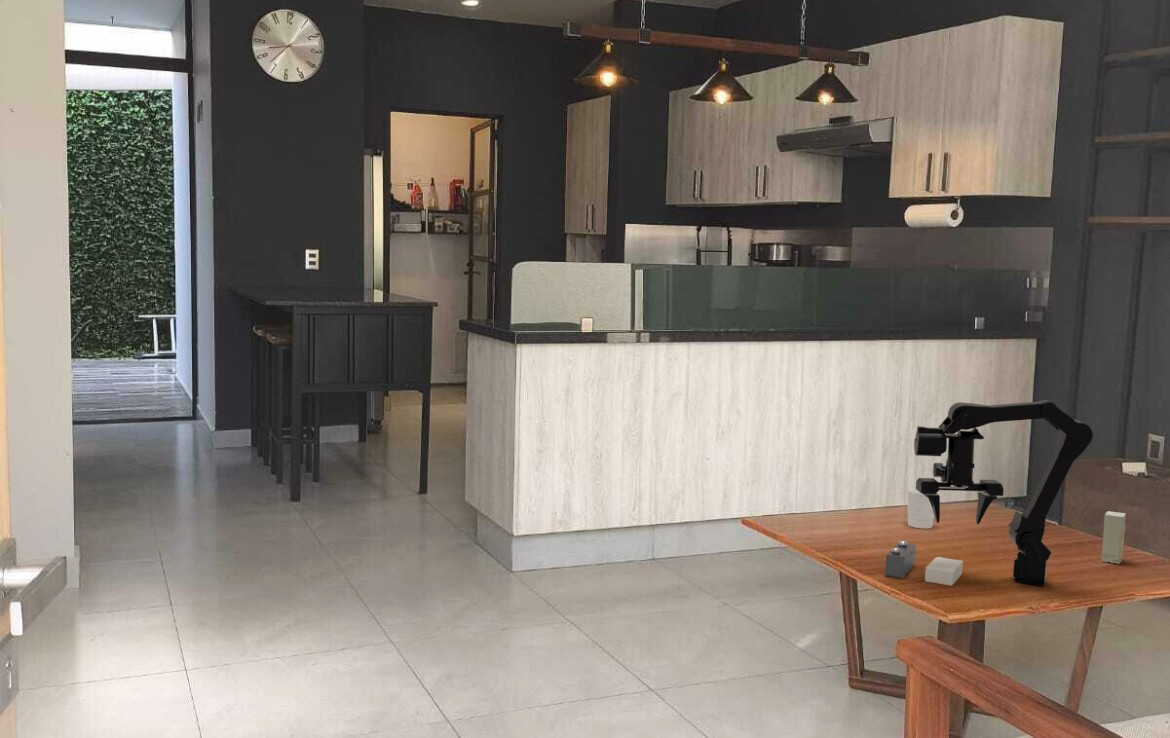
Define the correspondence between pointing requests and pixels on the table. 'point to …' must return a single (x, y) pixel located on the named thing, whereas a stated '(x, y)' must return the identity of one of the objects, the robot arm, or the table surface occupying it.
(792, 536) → the table surface
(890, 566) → the stop bar
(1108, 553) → the skincare box
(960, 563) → the white rectangular block
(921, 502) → the white cup
